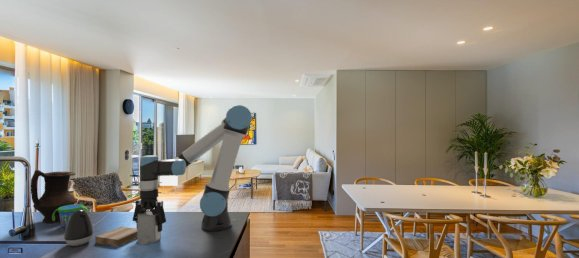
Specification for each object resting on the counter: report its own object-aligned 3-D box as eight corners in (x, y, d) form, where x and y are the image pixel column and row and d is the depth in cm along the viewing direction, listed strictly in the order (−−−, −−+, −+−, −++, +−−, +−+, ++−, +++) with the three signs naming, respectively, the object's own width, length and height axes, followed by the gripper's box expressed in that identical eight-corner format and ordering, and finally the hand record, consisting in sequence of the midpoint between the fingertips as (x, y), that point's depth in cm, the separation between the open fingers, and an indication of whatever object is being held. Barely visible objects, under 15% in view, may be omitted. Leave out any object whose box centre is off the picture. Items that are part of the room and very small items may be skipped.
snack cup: (92, 221, 149) (92, 203, 149) (82, 227, 139) (83, 208, 139) (59, 223, 145) (59, 205, 145) (47, 230, 135) (47, 210, 135)
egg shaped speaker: (69, 250, 111) (70, 214, 112) (60, 245, 117) (60, 210, 117) (97, 242, 120) (97, 208, 120) (87, 237, 126) (87, 205, 126)
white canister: (153, 244, 118) (153, 216, 118) (132, 244, 118) (132, 216, 118) (164, 235, 127) (164, 210, 127) (144, 235, 127) (144, 210, 127)
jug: (62, 213, 163) (62, 165, 163) (84, 216, 158) (85, 166, 158) (19, 225, 142) (19, 169, 143) (43, 228, 137) (43, 170, 138)
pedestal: (142, 235, 128) (142, 229, 128) (117, 246, 115) (117, 239, 115) (121, 232, 132) (121, 226, 132) (95, 243, 119) (95, 236, 119)
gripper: (174, 188, 123) (174, 236, 123) (137, 186, 129) (137, 232, 129) (162, 192, 116) (162, 243, 116) (123, 189, 122) (123, 237, 122)
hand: (149, 237), depth 122 cm, fingers closed on white canister, 9 cm apart
